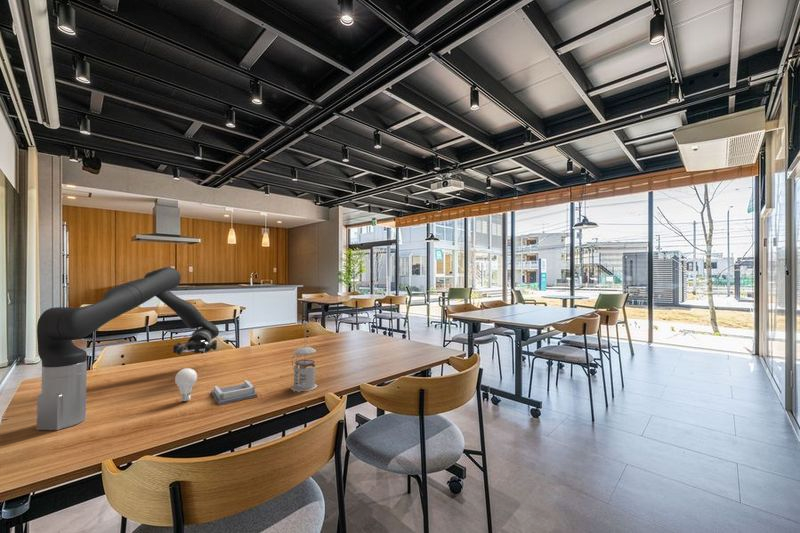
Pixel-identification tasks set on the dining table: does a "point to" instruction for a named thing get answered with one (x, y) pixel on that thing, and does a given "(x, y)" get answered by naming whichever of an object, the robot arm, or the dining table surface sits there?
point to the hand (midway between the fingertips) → (192, 350)
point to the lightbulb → (186, 382)
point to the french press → (304, 369)
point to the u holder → (234, 393)
